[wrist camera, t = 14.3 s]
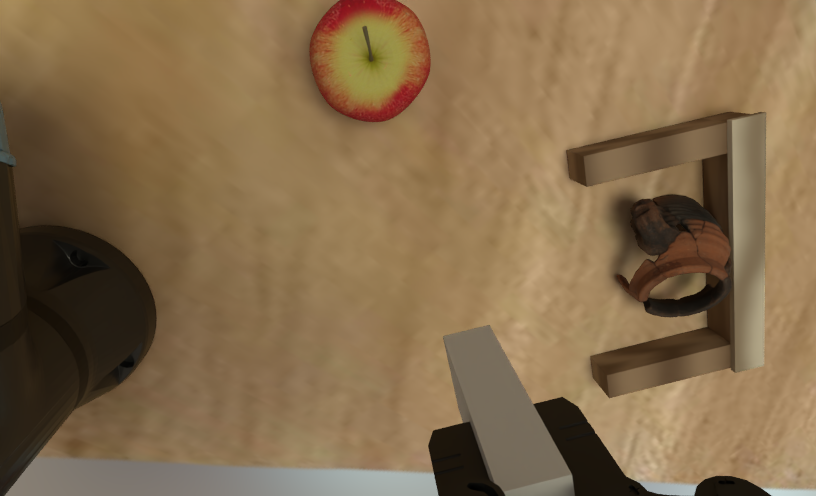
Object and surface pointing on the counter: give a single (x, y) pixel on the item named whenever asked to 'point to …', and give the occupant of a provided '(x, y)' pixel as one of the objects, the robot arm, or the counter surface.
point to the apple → (370, 58)
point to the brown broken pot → (678, 253)
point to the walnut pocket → (741, 223)
